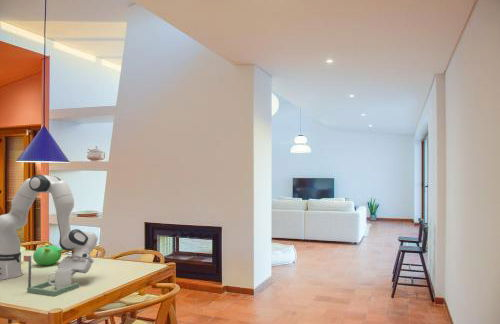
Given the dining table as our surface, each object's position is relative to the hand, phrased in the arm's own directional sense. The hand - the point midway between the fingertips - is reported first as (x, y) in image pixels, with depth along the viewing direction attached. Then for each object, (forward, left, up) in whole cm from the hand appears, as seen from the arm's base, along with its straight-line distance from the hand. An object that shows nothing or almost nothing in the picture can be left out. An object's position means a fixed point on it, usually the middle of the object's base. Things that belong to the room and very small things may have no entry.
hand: (67, 277), depth 232 cm
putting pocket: (-7, -7, -4) cm, 11 cm away
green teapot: (-26, +55, -5) cm, 61 cm away
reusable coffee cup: (-6, +61, -5) cm, 61 cm away
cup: (-3, -5, -5) cm, 7 cm away
